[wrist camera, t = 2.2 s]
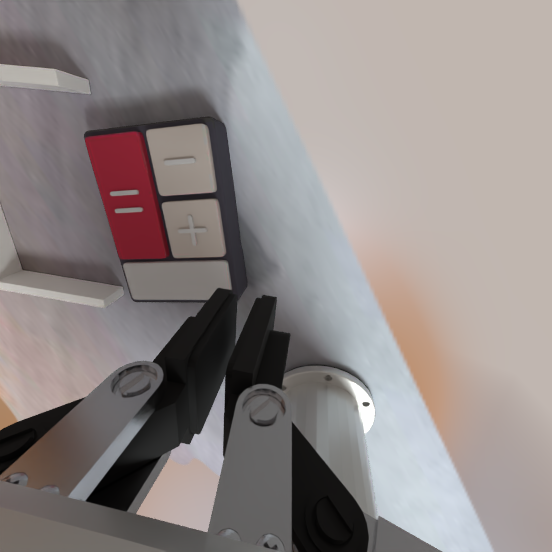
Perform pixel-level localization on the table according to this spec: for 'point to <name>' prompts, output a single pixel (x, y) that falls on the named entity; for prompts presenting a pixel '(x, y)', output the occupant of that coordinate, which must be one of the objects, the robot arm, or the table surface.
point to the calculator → (171, 208)
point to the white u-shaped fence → (3, 257)
